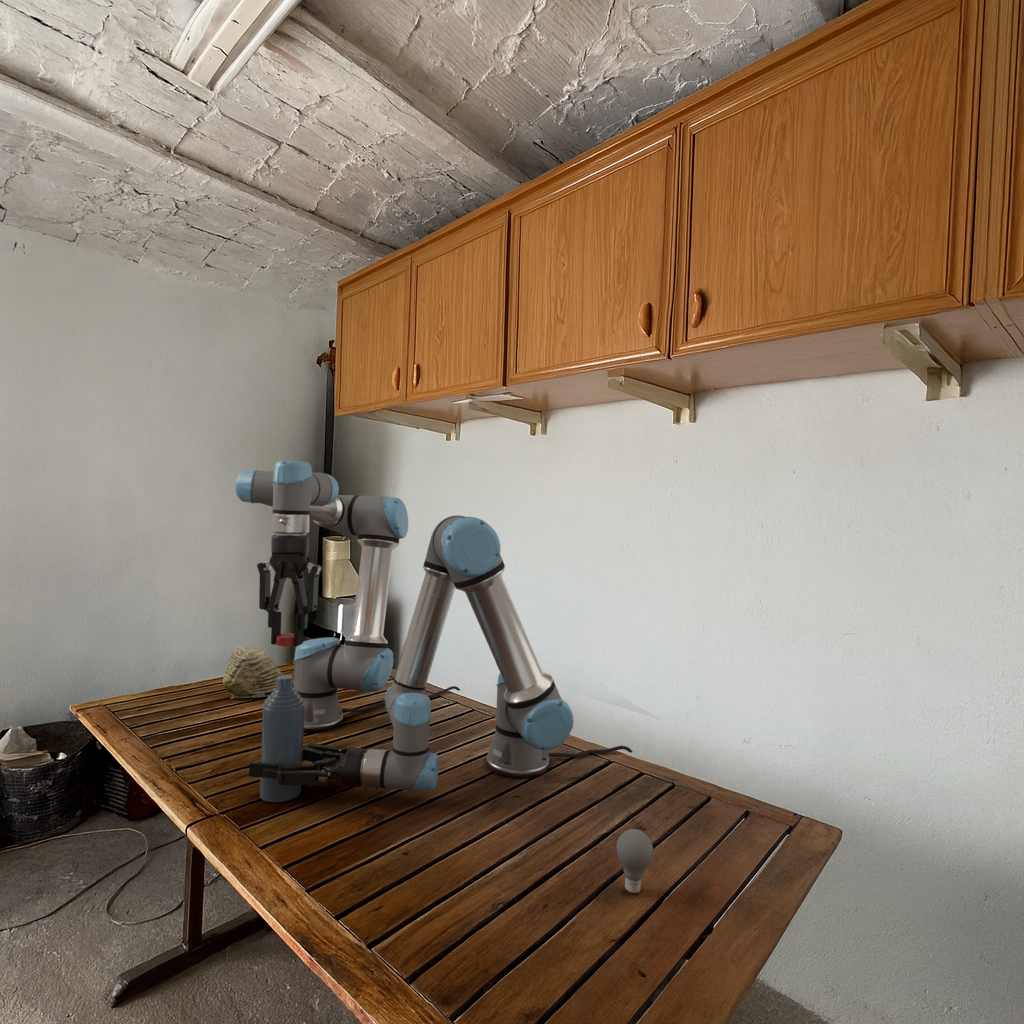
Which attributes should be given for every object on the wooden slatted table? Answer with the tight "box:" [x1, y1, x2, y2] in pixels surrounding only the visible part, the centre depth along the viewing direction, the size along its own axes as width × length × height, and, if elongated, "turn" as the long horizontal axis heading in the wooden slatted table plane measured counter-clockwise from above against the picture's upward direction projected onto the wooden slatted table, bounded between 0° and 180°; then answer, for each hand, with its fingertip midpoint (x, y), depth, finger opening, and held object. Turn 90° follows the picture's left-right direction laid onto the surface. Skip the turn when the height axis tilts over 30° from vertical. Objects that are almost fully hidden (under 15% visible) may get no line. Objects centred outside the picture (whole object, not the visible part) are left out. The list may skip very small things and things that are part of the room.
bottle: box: [259, 674, 305, 803], centre depth 134 cm, size 8×8×25 cm
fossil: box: [222, 646, 283, 699], centre depth 198 cm, size 9×18×15 cm, turn 132°
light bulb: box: [615, 828, 654, 894], centre depth 106 cm, size 6×6×10 cm
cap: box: [275, 632, 294, 647], centre depth 134 cm, size 4×4×2 cm
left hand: (287, 643), depth 134 cm, fingers closed on cap, 4 cm apart
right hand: (260, 760), depth 135 cm, fingers closed on bottle, 8 cm apart
